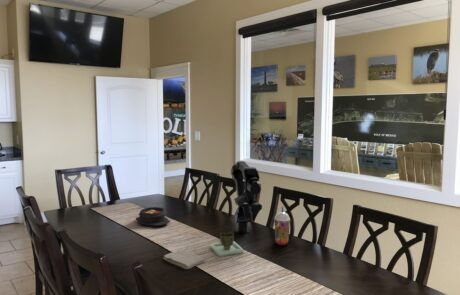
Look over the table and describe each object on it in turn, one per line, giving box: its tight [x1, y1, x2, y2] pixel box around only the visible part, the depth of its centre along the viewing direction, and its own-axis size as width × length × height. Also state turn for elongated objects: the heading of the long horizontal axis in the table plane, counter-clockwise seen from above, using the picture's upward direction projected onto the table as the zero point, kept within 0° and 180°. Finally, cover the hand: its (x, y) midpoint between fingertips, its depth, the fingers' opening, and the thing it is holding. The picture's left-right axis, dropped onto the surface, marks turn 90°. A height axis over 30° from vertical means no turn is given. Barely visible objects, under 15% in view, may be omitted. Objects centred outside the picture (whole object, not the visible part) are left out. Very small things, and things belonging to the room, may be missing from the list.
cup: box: [219, 231, 235, 250], centre depth 187 cm, size 8×7×8 cm
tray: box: [209, 241, 244, 257], centre depth 187 cm, size 13×13×2 cm
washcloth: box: [162, 248, 206, 270], centre depth 174 cm, size 12×18×3 cm, turn 51°
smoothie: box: [273, 206, 291, 246], centre depth 196 cm, size 8×8×20 cm
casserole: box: [135, 206, 171, 227], centre depth 231 cm, size 25×19×8 cm
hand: (249, 218), depth 201 cm, fingers open, 9 cm apart
